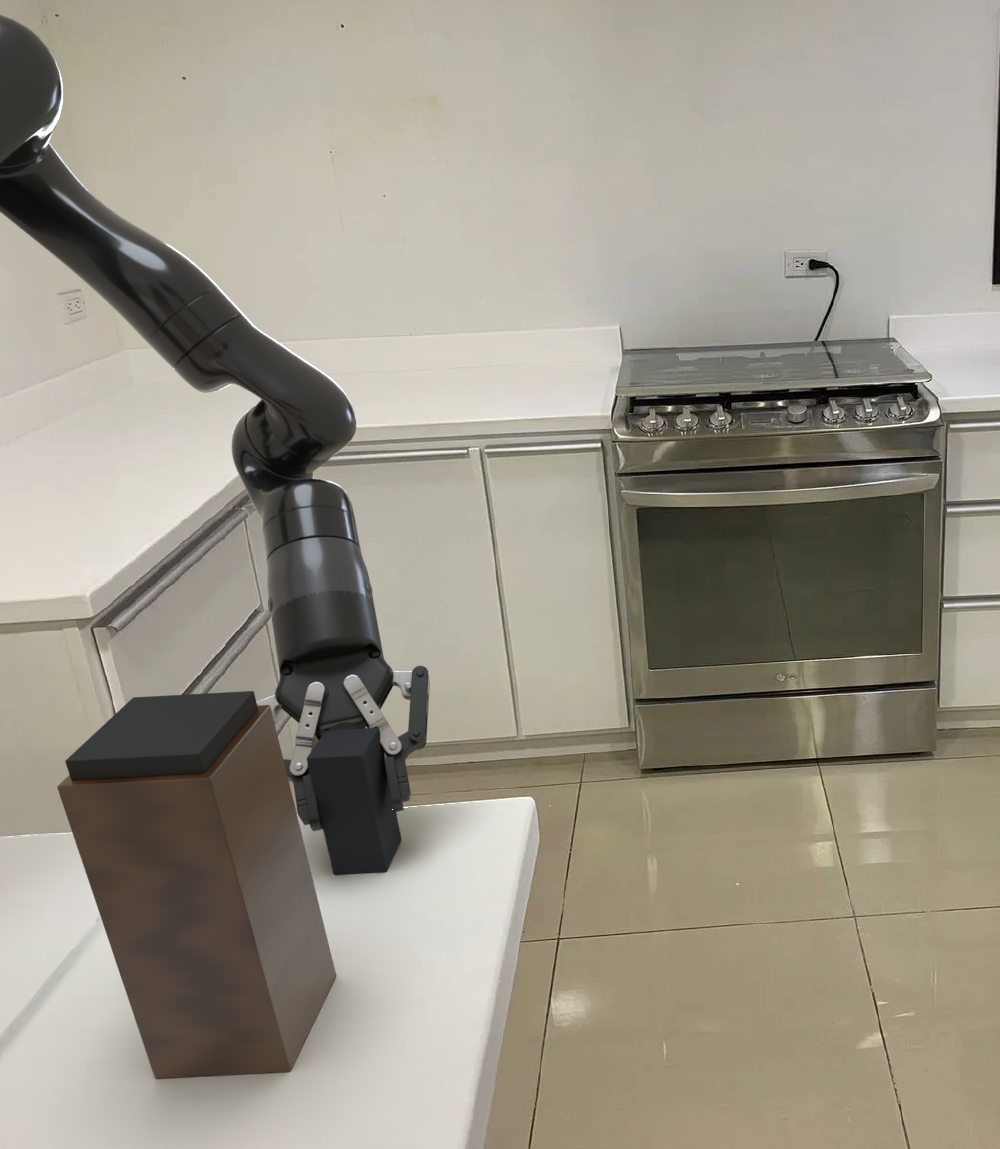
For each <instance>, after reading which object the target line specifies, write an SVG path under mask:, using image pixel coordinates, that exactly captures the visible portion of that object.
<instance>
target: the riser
mask: <svg viewBox="0 0 1000 1149" xmlns="http://www.w3.org/2000/svg"><path fill="white" fill-rule="evenodd" d="M283 759H284V756H283V752H282V748H281V744H280V740H279V735H278V731H277V728H276V723H274V719H273V715H272V711H271V707H270V705H259V706H258V709H257V711H256V712H255V713H254V714H253V715H252V717H251V718H250V719H249V720H248V721H247V723H246V724H245V725H244V726H243V727H242V729H241V730H240V731H239V732H238V733H237V735H236V736H235V737H234V738H233V739H232V740H231V742H230V743H229V744H228V745H227V746H226V748H225V749H224V750H223V751H222V752H221V754H220V755H219V756H218V757H217V758H216V760H215V761H214V762H213V763H212V764H211V766H210V767H209V768H208V769H207V770H206V772H205V773H199V774H180V775H161V776H142V777H124V778H105V779H86V780H71V778H70V775H69V774H68V775H67V776H66V777H65V778H64V779H63V780H62V781H61V782H60V783H59V784H57V786H56V788H57V791H58V794H59V797H60V800H61V803H62V806H63V810H64V813H65V815H66V819H67V821H68V824H69V827H70V830H71V833H72V836H73V839H74V841H75V842H74V843H75V846H76V848H77V851H78V854H79V856H80V860H81V863H82V865H83V869H84V871H85V874H86V878H87V880H88V883H89V887H90V889H91V892H92V895H93V898H94V901H95V905H96V907H97V909H98V914H99V917H100V919H101V922H102V926H103V928H104V932H105V935H106V937H107V940H108V943H109V946H110V950H111V952H112V955H113V958H114V961H115V963H116V967H117V970H118V973H119V976H120V979H121V982H122V984H123V985H122V986H123V988H124V990H125V991H124V992H125V993H126V996H127V999H128V1002H129V1005H130V1008H131V1011H132V1015H133V1017H134V1021H135V1023H136V1027H137V1029H138V1032H139V1035H140V1038H141V1041H142V1044H143V1047H144V1050H145V1053H146V1057H147V1059H148V1063H149V1065H150V1068H151V1071H152V1074H153V1077H154V1079H168V1078H187V1077H207V1076H226V1075H227V1076H228V1075H243V1074H245V1075H246V1074H247V1075H248V1074H263V1073H279V1072H280V1073H283V1072H284V1073H285V1072H291V1071H292V1069H293V1067H294V1064H295V1063H296V1060H297V1058H298V1056H299V1054H300V1052H301V1050H302V1048H303V1045H304V1044H305V1042H306V1040H307V1037H308V1035H309V1034H310V1032H311V1029H312V1027H313V1025H314V1023H315V1021H316V1019H317V1017H318V1016H319V1012H320V1010H321V1008H322V1006H323V1004H324V1002H325V1000H326V998H327V996H328V994H329V992H330V989H331V987H332V986H333V984H334V982H335V979H336V977H337V972H336V968H335V964H334V960H333V955H332V952H331V948H330V943H329V939H328V935H327V932H326V927H325V924H324V919H323V915H322V911H321V908H320V907H321V906H320V903H319V898H318V894H317V891H316V890H317V889H316V886H315V883H314V878H313V875H312V870H311V866H310V862H309V858H308V854H307V850H306V845H305V841H304V838H303V834H302V829H301V826H300V821H299V816H298V812H297V808H296V805H295V801H294V797H293V792H292V789H291V785H290V781H289V780H288V776H287V772H286V768H285V764H284V760H283Z"/></svg>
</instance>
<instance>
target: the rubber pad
mask: <svg viewBox="0 0 1000 1149" xmlns="http://www.w3.org/2000/svg"><path fill="white" fill-rule="evenodd" d="M257 709H258V706H257V699H256V694H255V691H254V690H244V691H225V692H208V693H207V692H206V693H190V694H188V693H187V694H171V695H152V696H151V695H150V696H133V697H132V698H131V699H130V700H128V702H126V704H124V705H123V706H122V707H121V708H120V709H119V710H118V711H117V712H116V713H115V714H113V716H111V718H109V719H108V720H107V721H106V722H105V723H104V724H103V725H102V726H101V727H100V728H98V729H97V730H96V731H95V732H94V733H93V734H92V735H91V736H90V737H89V738H88V739H87V740H86V741H85V742H83V743H82V744H81V745H80V747H78V748H77V749H76V750H75V751H74V752H73V753H72V754H71V755H70V756H69V757H68V758H67V759H65V761H64V762H65V766H66V768H67V771H68V776H69V775H70V778H71V780H86V779H105V778H124V777H142V776H161V775H180V774H199V773H205V772H206V770H207V769H208V768H209V767H210V766H211V764H212V763H213V762H214V761H215V760H216V758H217V757H218V756H219V755H220V754H221V752H222V751H223V750H224V749H225V748H226V746H227V745H228V744H229V743H230V742H231V740H232V739H233V738H234V737H235V736H236V735H237V733H238V732H239V731H240V730H241V729H242V727H243V726H244V725H245V724H246V723H247V721H248V720H249V719H250V718H251V717H252V715H253V714H254V713H255V712H256V711H257Z"/></svg>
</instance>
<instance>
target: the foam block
mask: <svg viewBox="0 0 1000 1149" xmlns="http://www.w3.org/2000/svg"><path fill="white" fill-rule="evenodd" d="M380 737H381V735H380V730H379V728H367V727H366V728H362V729H343V730H326V731H325V732H324V734H323V735H322V737H321V738H320V739H319V741H318V742H317V744H316V745H315V747H314V748H313V750H312V751H311V753H310V754H309V755H308V757H307V763H308V767H309V771H310V776H311V780H312V784H313V788H314V793H315V796H316V800H317V804H318V808H319V812H320V817H321V821H322V825H323V829H322V831H323V835H324V840H325V844H326V848H327V852H328V857H329V860H330V865H331V869H332V874H333V875H343V874H344V875H345V874H346V875H347V874H363V873H364V874H367V873H369V874H370V873H385V872H388V869H389V868H390V865H391V863H392V861H393V859H394V857H395V855H396V853H397V851H398V849H399V847H400V845H401V843H402V834H401V829H400V824H399V819H398V815H397V812H394V810H392V809H393V806H392V801H391V795H390V790H389V784H388V779H387V773H386V767H385V762H384V758H386V755H385V754H384V750H383V747H382V745H381V743H380Z"/></svg>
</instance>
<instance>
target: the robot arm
mask: <svg viewBox="0 0 1000 1149" xmlns="http://www.w3.org/2000/svg"><path fill="white" fill-rule="evenodd" d="M63 103H64V86H63V79H62V75H61V71H60V67H59V66H58V64H57V60H56V58H55V57H54V54H52V52H51V50H50V49H49V47H48V46H47V44H45V42H44V41H43V40H42V39H41V38H40V37H39V35H37V34H36V33H35V32H34V31H33V30H32V29H30V28H29V27H28V26H26V25H25V24H23V23H21V22H20V21H17V20H16V19H14V18H11V17H9V16H6V15H4V14H0V213H1V214H2V215H3V216H4V217H5V218H7V219H8V220H9V221H11V222H12V223H13V224H14V225H16V226H17V227H18V228H19V229H20V230H22V231H23V232H24V233H25V234H26V235H28V236H29V237H30V238H32V239H33V240H34V241H35V242H37V243H38V244H39V245H40V246H41V247H43V248H44V249H45V250H46V251H47V252H49V253H50V254H52V256H54V257H55V258H56V259H58V261H60V262H61V263H62V264H63V265H64V266H66V267H67V268H68V269H69V270H71V272H73V273H74V274H75V275H76V276H78V277H79V278H80V279H81V280H82V281H83V282H85V283H86V284H87V285H88V286H89V287H90V288H91V289H92V290H93V291H94V292H95V293H97V294H98V295H99V296H100V297H101V298H102V299H103V300H104V301H105V302H106V303H107V304H108V305H110V307H112V308H113V309H114V310H115V311H116V313H118V314H119V315H120V316H121V317H122V318H123V319H124V320H125V321H126V322H127V323H128V324H129V325H130V326H131V327H132V328H133V330H134V331H135V332H136V333H137V334H138V335H139V336H140V337H142V339H143V340H144V341H145V342H146V343H147V344H148V345H149V346H150V347H151V348H152V349H153V350H154V352H156V353H157V354H158V355H159V356H160V357H161V359H162V360H164V361H165V363H167V364H168V365H169V366H170V367H171V368H172V369H174V371H175V373H177V375H179V376H180V378H182V380H184V381H185V382H186V383H187V384H188V385H189V386H190V387H191V388H193V389H194V390H196V391H198V392H200V393H204V394H210V393H215V392H219V391H220V390H223V389H225V388H228V387H229V386H231V385H236V386H239V387H240V388H242V389H244V390H246V391H248V392H249V393H251V394H253V395H255V396H256V397H257V398H259V399H260V400H259V401H258V402H257V403H255V404H254V405H253V406H252V407H251V408H250V409H248V410H247V411H246V412H245V413H243V415H242V416H240V417H239V419H238V421H237V422H236V424H235V427H234V429H233V431H232V437H231V457H232V461H233V465H234V466H235V469H236V471H237V473H238V476H239V478H240V480H241V482H242V484H243V486H244V488H245V491H246V492H247V495H248V497H249V500H250V501H251V503H252V505H253V507H254V509H255V511H256V513H257V514H258V517H259V518H260V520H261V521H260V522H261V530H262V531H261V532H262V538H263V544H264V552H265V559H266V565H267V566H266V567H267V583H266V584H267V596H268V599H267V600H268V601H267V608H268V611H269V613H270V616H271V617H270V618H271V623H272V629H273V638H274V645H275V651H276V657H277V658H276V660H277V665H278V672H279V679H278V680H279V681H278V684H277V685H276V688H275V691H274V694H271V695H269V696H267V697H264V698H261V699H259V700H256V702H257V706H259V705H270V707H271V711H272V715H273V719H274V723H275V724H276V722H277V720H276V719H277V718H276V714H277V712H278V711H280V710H282V711H284V712H285V713H286V714H287V715H289V716H290V718H292V719H293V720H294V721H296V722H297V723H298V727H297V731H296V735H295V744H294V748H293V753H292V756H291V759H289V758H288V759H286V758H283V760H284V764H285V768H286V772H287V776H288V780H289V782H291V783H292V784H293V790H294V797H295V804H296V805H295V806H296V813H297V817H298V818H299V819H300V820H301V822H302V823H303V825H304V826H307V825H309V827H310V829H311V831H312V832H318V831H321V830H322V831H323V825H322V821H321V817H320V812H319V808H318V804H317V800H316V796H315V793H314V788H313V784H312V780H311V776H310V771H309V767H308V763H307V757H308V755H309V754H310V753H311V751H312V750H313V748H314V747H315V745H316V744H317V742H318V741H319V739H320V738H321V737H322V735H323V734H324V732H325V731H326V730H343V729H362V728H379V730H380V735H381V737H380V743H381V745H382V747H383V750H384V755H385V758H384V762H385V767H386V773H387V779H388V784H389V790H390V795H391V801H392V806H393V810H394V812H396V813H397V812H401V811H405V808H404V803H405V802H410V800H411V795H412V791H411V786H410V781H409V776H408V775H409V774H408V769H407V764H406V761H407V758H408V756H409V755H411V754H412V753H414V752H415V751H421V750H422V749H424V748H425V747H426V746H427V740H428V720H429V703H430V685H431V681H430V674H429V670H428V668H427V667H426V666H423V665H416V666H415V667H414V668H413V669H412V670H393V668H392V666H390V664H388V663H387V661H386V659H385V657H384V651H383V645H382V639H381V635H380V629H379V624H378V619H377V613H376V607H375V602H374V601H375V600H374V597H373V587H372V585H371V580H370V576H369V572H368V569H367V566H366V563H365V560H364V557H363V554H362V550H361V543H360V538H359V533H358V527H357V522H356V516H355V512H354V508H353V504H352V501H351V498H350V496H349V494H348V493H347V491H346V490H345V489H344V488H343V487H342V486H341V485H339V484H338V483H335V482H333V481H330V480H326V479H322V478H314V473H315V471H316V470H318V469H319V468H321V467H322V466H323V465H324V464H326V462H328V461H329V460H330V459H331V458H333V457H334V456H335V455H337V454H338V453H339V452H341V451H342V450H343V449H345V448H346V446H348V444H350V442H351V441H352V440H353V438H354V437H355V434H356V431H357V417H356V412H355V410H354V406H353V404H352V402H351V401H350V399H349V396H348V395H347V393H345V391H344V390H343V389H342V387H340V385H339V384H337V383H336V382H335V381H334V379H332V377H330V376H328V375H327V374H326V373H325V372H323V371H322V370H320V369H318V368H317V367H316V366H314V365H312V364H311V363H309V362H308V361H307V360H305V359H304V358H302V357H301V356H299V355H297V354H296V353H295V352H292V350H290V349H289V348H287V347H286V346H285V345H283V344H281V343H280V342H279V341H277V340H276V339H274V338H273V337H271V336H269V335H268V334H266V333H264V332H263V331H262V330H260V329H259V328H257V327H256V326H255V325H254V324H253V323H252V321H251V320H250V319H249V318H248V317H247V316H246V315H245V314H244V313H243V311H241V310H240V308H238V306H237V305H236V304H235V303H234V302H233V301H232V300H231V299H230V298H229V297H228V295H226V294H225V293H224V291H223V290H222V289H221V288H220V287H219V286H218V285H217V283H215V282H214V280H212V278H211V277H210V276H208V275H207V273H206V272H204V271H203V270H202V269H201V268H200V266H198V265H197V264H196V263H195V262H193V261H192V260H191V259H189V258H188V257H187V256H186V255H184V254H183V253H182V252H180V251H179V250H177V249H176V248H175V247H173V246H171V245H169V244H168V243H167V242H166V241H165V242H164V241H163V240H161V239H160V238H158V237H156V236H154V235H152V234H151V233H149V232H147V231H145V230H144V229H142V228H140V227H138V226H137V225H135V224H133V223H132V222H131V221H128V220H127V219H125V218H123V217H122V216H121V215H119V214H118V213H117V212H115V211H113V210H112V209H111V208H110V207H108V206H107V205H106V204H104V203H103V202H102V201H101V200H99V198H97V197H96V196H95V195H94V194H93V193H92V192H91V191H89V189H88V188H87V187H86V186H85V185H84V184H83V183H82V182H81V181H80V180H79V179H78V178H77V177H76V176H75V174H74V173H73V171H72V170H71V169H70V168H69V166H68V165H67V164H66V163H65V162H64V160H63V158H61V156H60V155H59V154H58V153H57V152H58V151H56V149H55V148H54V147H53V145H52V144H51V142H50V140H51V138H52V135H53V133H54V131H55V129H56V126H57V123H58V122H59V120H60V117H61V113H62V109H63V105H64V104H63ZM393 687H397V688H399V689H400V693H401V696H402V697H403V699H405V700H407V701H409V712H408V727H407V731H406V732H404V733H402V734H401V735H399V736H397V734H396V733H395V731H394V730H393V727H391V725H390V724H389V722H388V720H387V718H386V717H385V715H384V714H383V712H382V711H381V710H382V708H383V706H384V704H385V702H386V701H387V698H388V696H389V695H390V693H391V691H392V689H393Z"/></svg>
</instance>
